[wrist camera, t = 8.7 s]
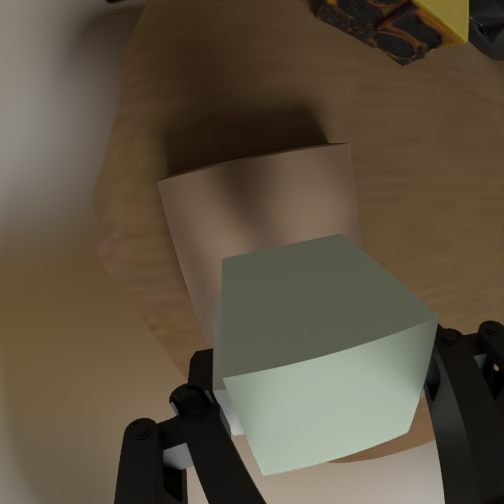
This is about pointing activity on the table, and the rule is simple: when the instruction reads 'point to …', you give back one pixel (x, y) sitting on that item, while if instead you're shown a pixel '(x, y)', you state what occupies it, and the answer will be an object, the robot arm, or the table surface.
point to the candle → (400, 24)
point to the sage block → (320, 351)
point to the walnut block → (256, 211)
